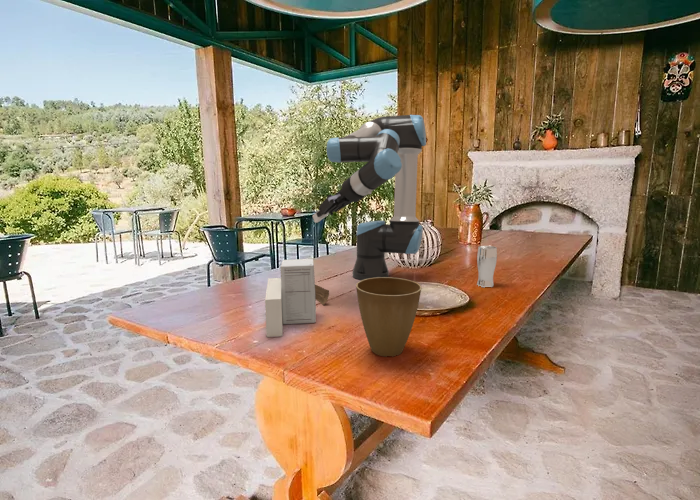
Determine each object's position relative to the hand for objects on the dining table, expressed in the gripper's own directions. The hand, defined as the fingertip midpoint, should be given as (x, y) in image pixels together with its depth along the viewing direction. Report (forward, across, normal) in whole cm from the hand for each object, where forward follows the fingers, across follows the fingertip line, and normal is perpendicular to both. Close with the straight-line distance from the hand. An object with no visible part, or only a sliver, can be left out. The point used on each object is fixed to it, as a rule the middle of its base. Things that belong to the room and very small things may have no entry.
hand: (315, 218), depth 133 cm
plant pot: (-29, -22, -46) cm, 58 cm away
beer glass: (-21, +49, -45) cm, 70 cm away
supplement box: (-1, -22, -30) cm, 37 cm away
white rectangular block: (+1, -28, -28) cm, 40 cm away
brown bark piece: (+8, -7, -26) cm, 28 cm away
